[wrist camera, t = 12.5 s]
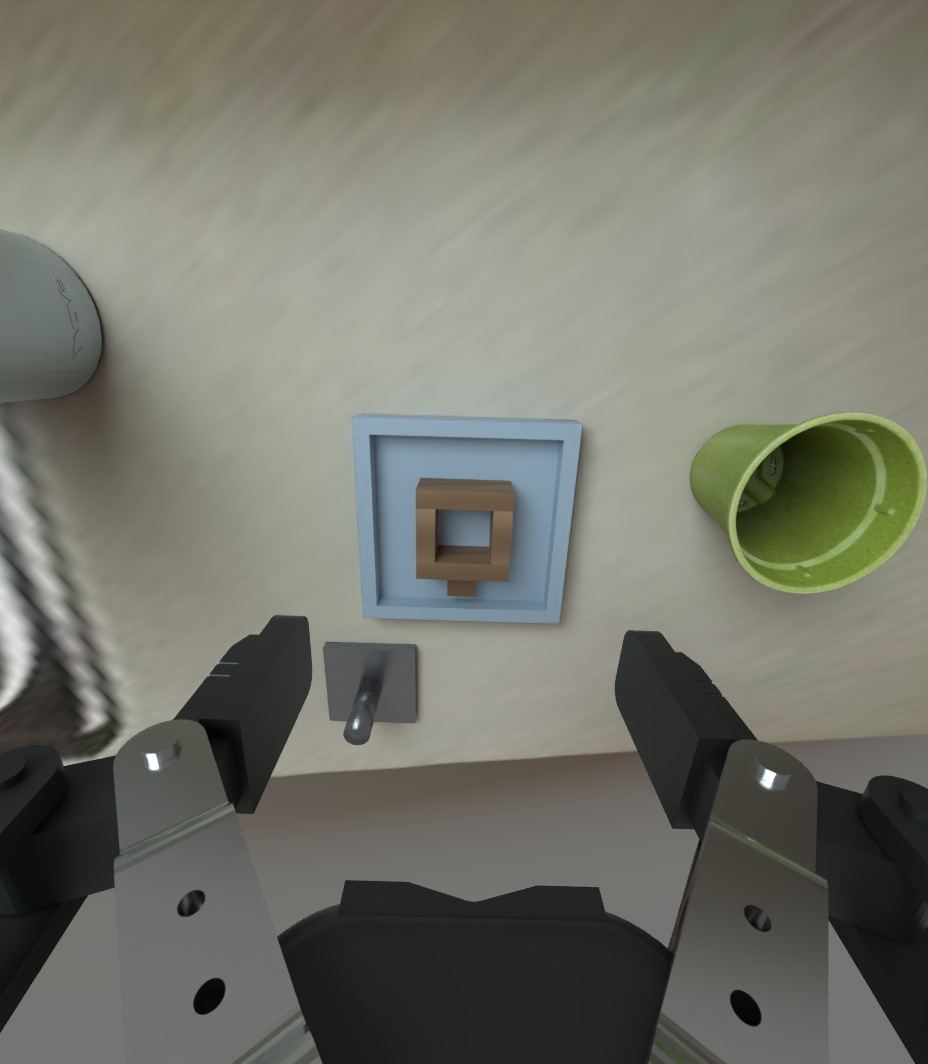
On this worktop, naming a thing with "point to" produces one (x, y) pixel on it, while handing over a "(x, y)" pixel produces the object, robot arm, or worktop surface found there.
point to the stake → (370, 685)
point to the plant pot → (813, 497)
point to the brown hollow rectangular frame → (463, 561)
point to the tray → (464, 512)
